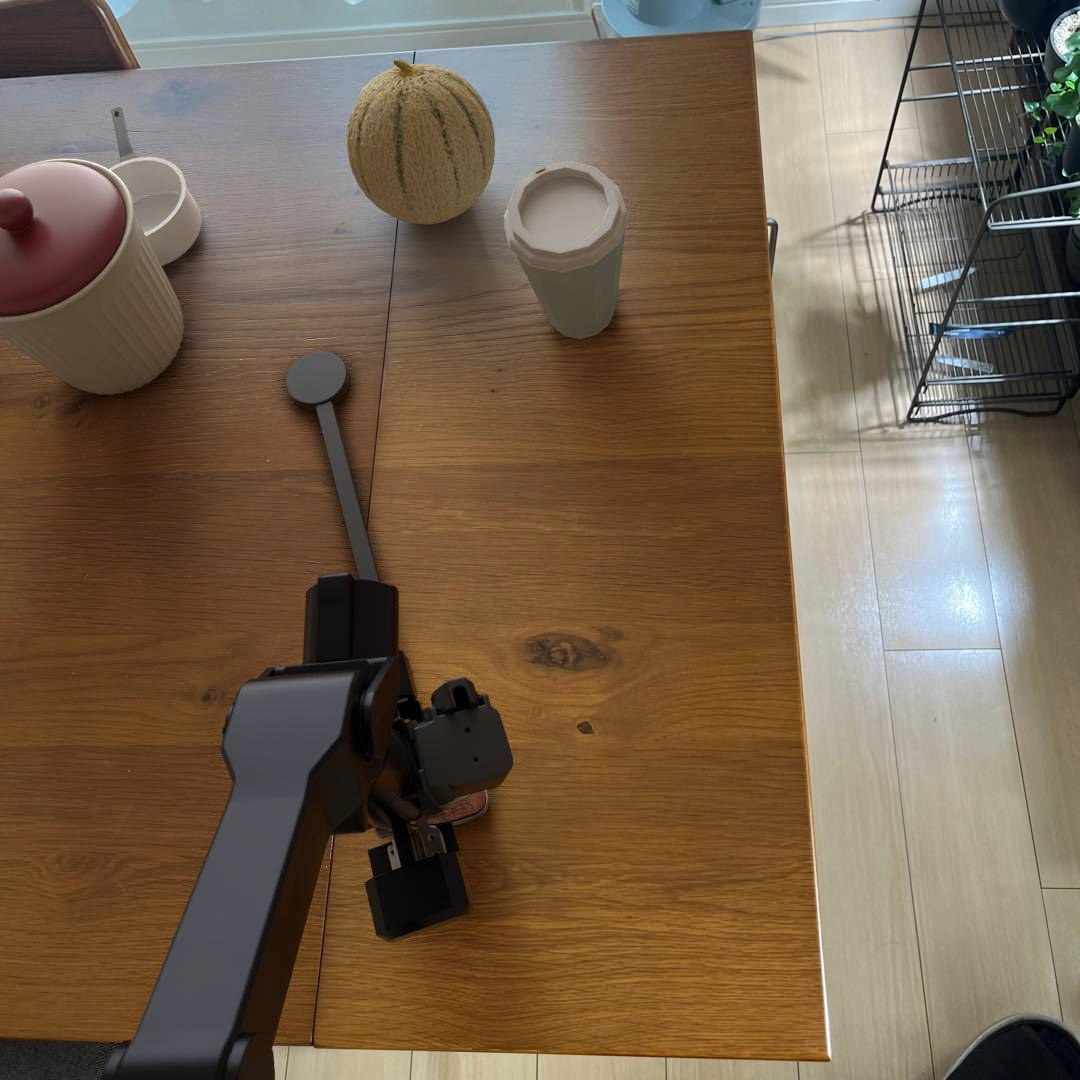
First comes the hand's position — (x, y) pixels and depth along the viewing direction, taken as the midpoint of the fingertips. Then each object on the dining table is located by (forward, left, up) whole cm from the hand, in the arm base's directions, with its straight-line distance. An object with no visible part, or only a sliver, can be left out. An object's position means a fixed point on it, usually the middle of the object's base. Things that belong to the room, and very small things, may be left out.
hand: (421, 806), depth 72 cm
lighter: (0, -1, -4) cm, 4 cm away
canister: (+55, +18, -4) cm, 58 cm away
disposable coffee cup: (+41, -26, -4) cm, 49 cm away
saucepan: (+73, +13, -4) cm, 74 cm away
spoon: (+26, 0, -3) cm, 26 cm away
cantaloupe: (+61, -17, -4) cm, 63 cm away
